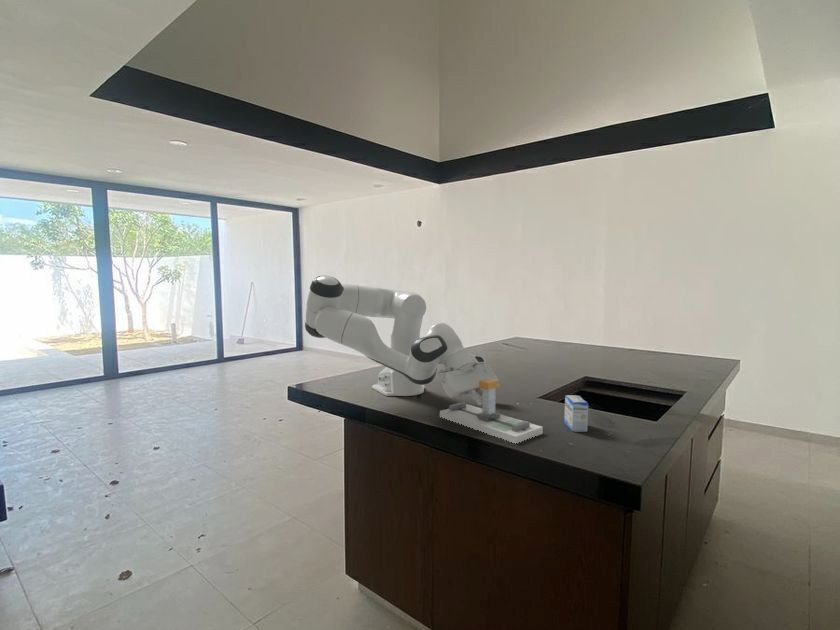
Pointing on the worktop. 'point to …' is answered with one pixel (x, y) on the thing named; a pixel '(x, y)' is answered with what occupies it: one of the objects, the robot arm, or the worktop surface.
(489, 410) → the fader lever
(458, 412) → the fader console
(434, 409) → the worktop surface
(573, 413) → the medicine box
